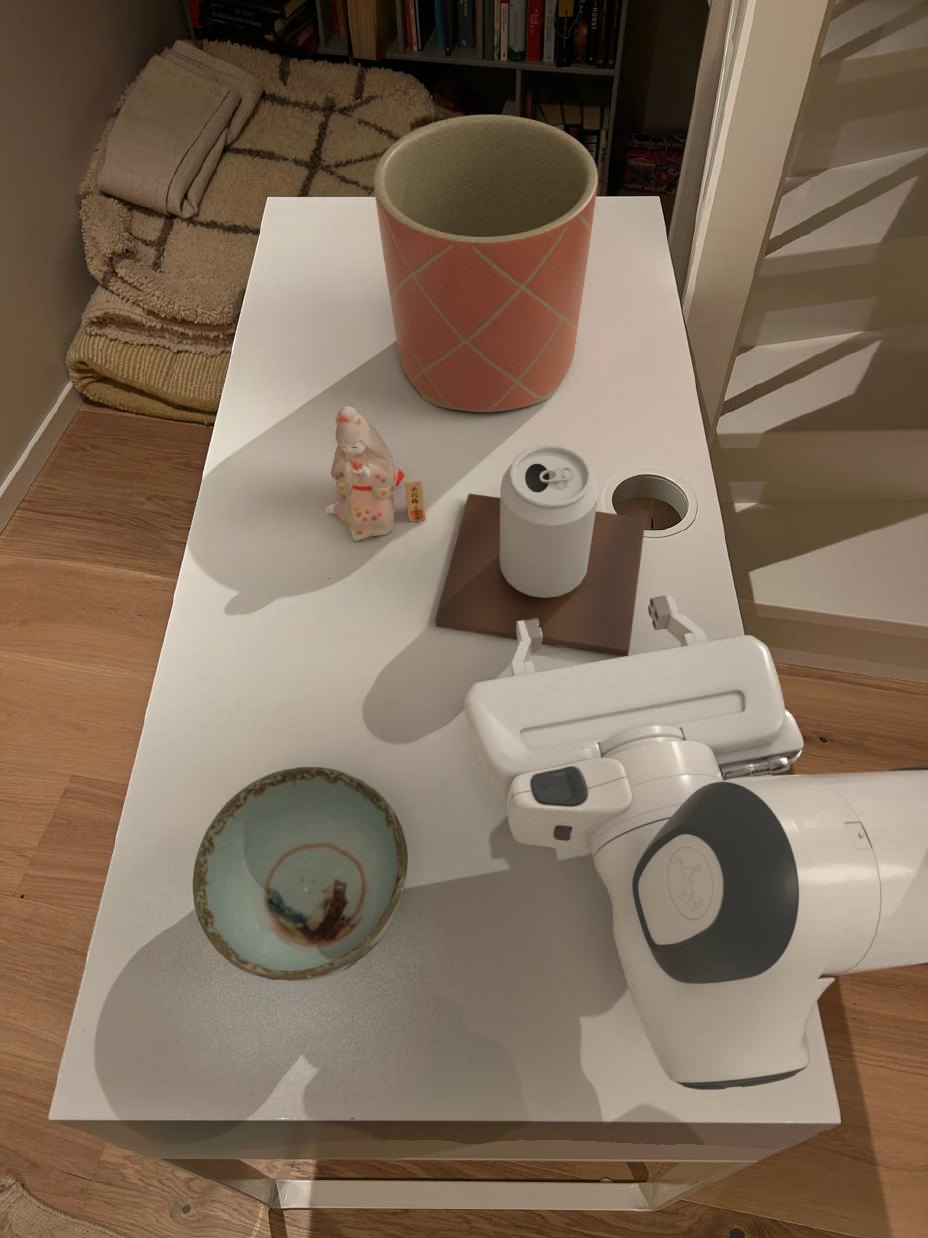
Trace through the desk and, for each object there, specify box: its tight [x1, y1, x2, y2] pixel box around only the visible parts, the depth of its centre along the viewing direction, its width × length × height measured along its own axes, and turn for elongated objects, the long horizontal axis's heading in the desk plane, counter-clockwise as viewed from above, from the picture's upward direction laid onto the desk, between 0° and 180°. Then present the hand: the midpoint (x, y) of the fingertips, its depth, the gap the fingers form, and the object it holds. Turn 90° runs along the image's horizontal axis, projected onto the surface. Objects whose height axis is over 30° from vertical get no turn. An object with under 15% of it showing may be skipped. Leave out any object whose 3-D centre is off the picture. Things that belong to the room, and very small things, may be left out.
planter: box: [373, 114, 599, 413], centre depth 86 cm, size 19×19×20 cm
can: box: [499, 443, 600, 598], centre depth 74 cm, size 8×8×12 cm
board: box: [434, 493, 646, 657], centre depth 79 cm, size 16×14×1 cm
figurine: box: [325, 406, 426, 542], centre depth 79 cm, size 9×7×12 cm
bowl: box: [192, 766, 409, 982], centre depth 61 cm, size 14×13×8 cm
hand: (593, 612), depth 64 cm, fingers open, 8 cm apart
